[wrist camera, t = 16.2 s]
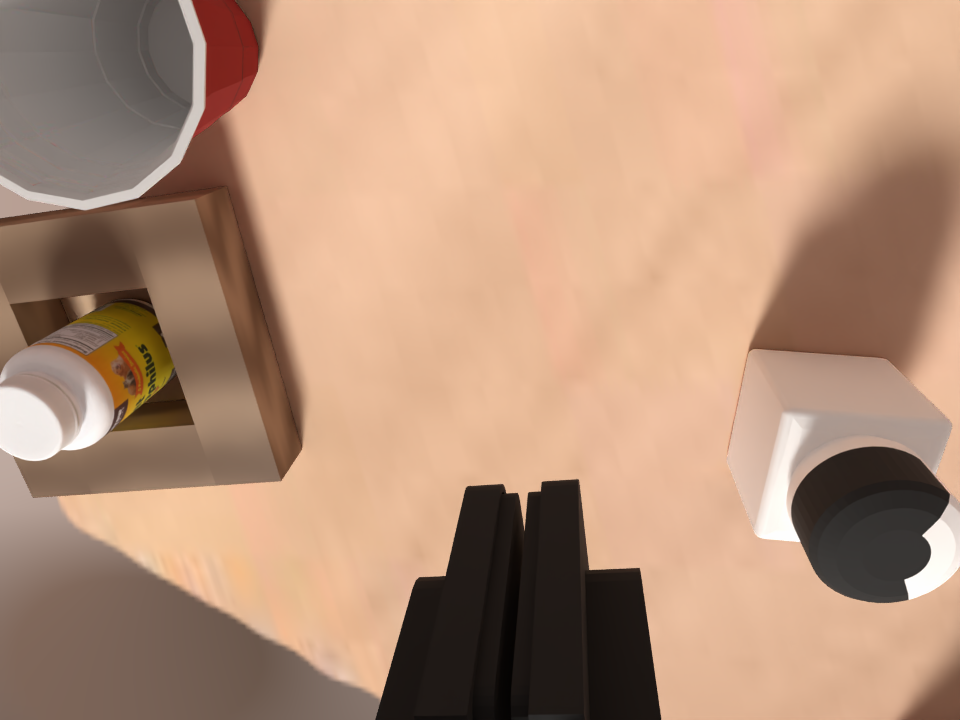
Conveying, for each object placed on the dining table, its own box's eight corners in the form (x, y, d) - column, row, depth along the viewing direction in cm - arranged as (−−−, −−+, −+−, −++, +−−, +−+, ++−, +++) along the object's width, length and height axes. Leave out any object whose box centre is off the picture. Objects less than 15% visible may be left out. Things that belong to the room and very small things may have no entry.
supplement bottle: (183, 394, 42) (76, 491, 33) (95, 366, 42) (-38, 456, 33) (193, 311, 40) (81, 392, 31) (100, 281, 40) (-42, 353, 31)
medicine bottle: (724, 461, 40) (782, 615, 29) (747, 346, 37) (823, 470, 26) (854, 472, 39) (963, 634, 29) (888, 356, 36) (1025, 487, 26)
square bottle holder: (-37, 223, 39) (-90, 239, 36) (226, 186, 37) (194, 199, 34) (70, 466, 46) (33, 497, 42) (302, 448, 43) (280, 481, 40)
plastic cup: (354, 107, 34) (257, 137, 24) (179, 194, 37) (20, 256, 26) (240, -132, 31) (61, -229, 20) (55, -17, 34) (-189, -45, 23)
